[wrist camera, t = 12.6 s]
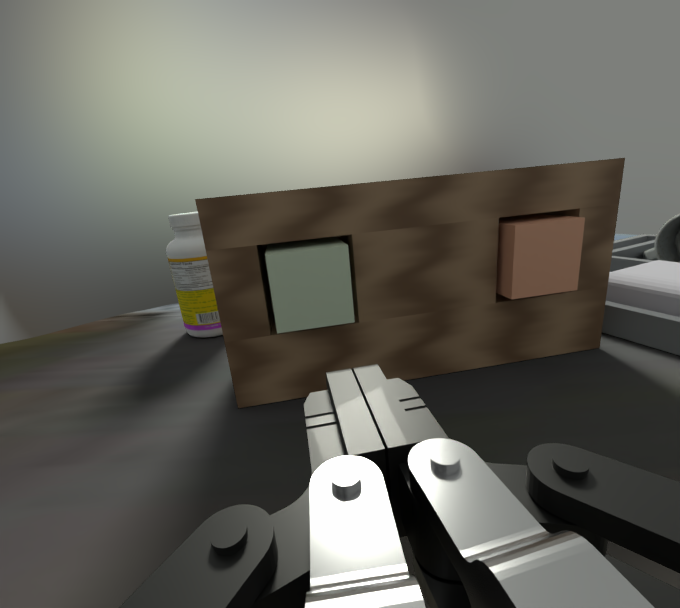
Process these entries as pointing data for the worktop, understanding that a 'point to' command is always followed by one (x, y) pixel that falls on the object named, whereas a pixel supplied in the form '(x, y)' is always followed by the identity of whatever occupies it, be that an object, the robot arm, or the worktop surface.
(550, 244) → the button terracotta
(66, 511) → the worktop surface
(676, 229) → the ceramic mug
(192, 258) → the supplement bottle
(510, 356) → the panel
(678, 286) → the charger
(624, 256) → the counter rail frame
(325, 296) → the button sage
